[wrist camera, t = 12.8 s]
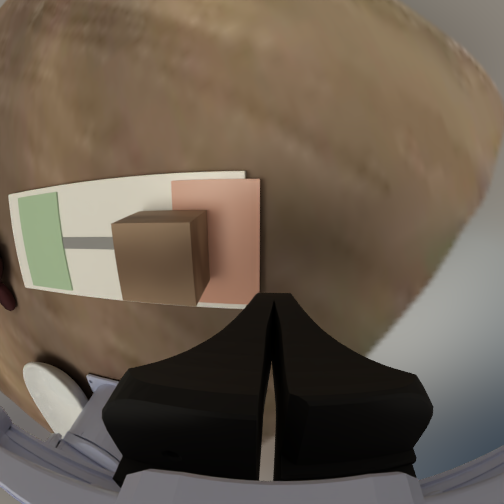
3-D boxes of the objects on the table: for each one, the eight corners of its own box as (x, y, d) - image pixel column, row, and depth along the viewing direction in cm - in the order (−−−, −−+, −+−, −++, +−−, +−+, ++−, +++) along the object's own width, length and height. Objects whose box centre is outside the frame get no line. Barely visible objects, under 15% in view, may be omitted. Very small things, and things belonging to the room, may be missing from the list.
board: (260, 303, 22) (259, 310, 21) (30, 283, 24) (24, 287, 23) (260, 170, 19) (259, 171, 18) (14, 193, 21) (7, 195, 20)
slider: (210, 279, 20) (196, 306, 16) (146, 276, 21) (122, 300, 17) (206, 209, 19) (189, 222, 15) (139, 211, 19) (110, 223, 15)
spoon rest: (24, 348, 28) (-5, 376, 21) (73, 350, 26) (40, 388, 20) (100, 452, 35) (86, 481, 28) (154, 463, 33) (142, 497, 26)
